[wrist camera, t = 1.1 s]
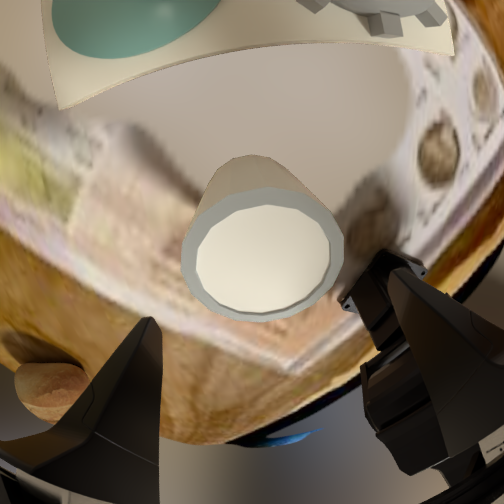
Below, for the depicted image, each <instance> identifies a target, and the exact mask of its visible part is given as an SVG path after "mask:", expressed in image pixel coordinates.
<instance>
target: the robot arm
mask: <svg viewBox="0 0 504 504" xmlns="http://www.w3.org/2000/svg"><path fill="white" fill-rule="evenodd" d="M383 255H384V256H383ZM382 256H383V257H382ZM426 274H427V269H426V268H425V267H424V266H422V265H420V264H418V263H416V262H414V261H412V260H409V259H407V258H405V257H403V256H401V255H398V254H396V253H394V252H392V251H389V250H387V249H382V250H380V251H379V252H378V254H377V255H376V257H375V258H374V259H373V261H372V262H371V264H370V265H369V266H368V268H367V269H366V271H365V272H364V273H363V275H362V276H361V277H360V279H359V280H358V281H357V283H356V284H355V285H354V287H353V288H352V289H351V291H350V292H349V293H348V295H347V296H346V297H345V298H344V300H343V301H342V302H341V307H342V309H343V310H345V311H349V312H354V313H358V314H359V315H360V317H361V319H362V321H363V324H364V326H365V328H366V330H367V331H369V333H370V336H371V338H372V340H373V342H374V345H375V347H376V349H377V351H381V352H380V353H379V354H377V355H376V356H375V357H373V358H372V359H371V360H369V361H368V362H365V363H364V364H362V365H361V366H360V372H361V381H362V392H363V403H364V412H365V417H366V418H367V420H368V422H369V424H370V425H371V427H372V428H373V429H374V430H375V431H376V432H377V433H376V437H377V438H378V439H379V440H380V441H382V442H383V443H384V444H385V446H386V447H387V448H388V449H389V451H390V452H391V454H392V456H393V457H394V459H395V461H396V463H397V465H398V467H399V469H400V470H401V471H403V472H404V473H406V474H407V475H409V476H413V475H415V474H417V473H419V472H422V471H424V470H426V469H428V468H431V469H435V470H438V471H439V472H440V473H441V474H442V476H443V478H444V479H445V481H446V483H447V484H448V486H449V489H447V490H445V491H443V492H442V493H440V494H438V495H436V496H434V497H432V498H430V499H428V500H426V501H424V502H422V503H420V504H504V330H503V329H501V328H500V327H498V326H496V325H494V324H492V323H491V322H489V321H487V320H486V319H484V318H482V317H481V316H479V315H478V314H476V313H474V312H473V311H471V310H469V309H468V308H467V307H465V306H463V305H462V304H460V303H459V302H457V301H455V300H454V299H452V298H451V296H450V295H449V294H448V293H447V292H446V293H445V294H444V293H442V292H441V291H439V290H437V289H436V288H434V287H432V286H431V285H429V284H427V283H426V282H424V281H422V279H423V278H424V277H425V275H426ZM162 376H163V352H162V331H161V329H160V328H159V326H158V324H157V323H156V321H155V319H154V318H153V317H151V316H150V317H143V318H141V319H140V321H139V322H138V323H137V324H136V325H135V327H134V328H133V329H132V330H131V332H130V333H129V334H128V335H127V337H126V338H125V339H124V340H123V341H122V343H121V344H120V345H119V346H118V348H117V349H116V350H115V352H114V353H113V354H112V355H111V357H110V358H109V359H108V360H107V362H106V363H105V364H104V366H103V367H102V368H101V369H100V371H99V372H98V373H97V375H96V376H95V377H94V378H93V380H92V382H90V384H89V385H88V386H87V388H86V389H85V390H84V391H83V393H82V394H81V395H80V397H79V398H78V399H77V400H76V401H75V402H74V404H73V405H72V406H71V407H70V408H69V409H68V410H67V412H66V413H65V414H64V415H63V416H62V417H61V418H60V420H59V421H58V422H57V423H56V424H55V425H54V426H53V427H52V428H51V429H49V430H47V431H45V432H42V433H39V434H35V435H32V436H28V437H23V438H19V439H15V440H11V441H0V458H1V459H3V460H4V461H6V462H8V463H9V464H11V465H13V466H14V467H16V468H17V472H16V474H14V473H12V472H10V471H8V470H6V469H5V468H3V467H1V466H0V504H160V500H159V466H158V465H159V426H160V405H161V389H162Z"/></svg>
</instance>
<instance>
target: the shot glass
mask: <svg viewBox="0 0 504 504" xmlns="http://www.w3.org/2000/svg"><path fill="white" fill-rule="evenodd" d="M343 263H344V236H343V234H342V232H341V230H340V228H339V226H338V224H337V223H336V221H335V219H334V217H333V215H332V213H331V211H330V210H329V209H328V208H327V207H326V206H325V205H324V204H323V203H321V202H320V200H319V199H318V198H316V196H315V195H313V194H312V193H311V192H310V191H309V190H308V189H307V188H306V187H305V186H304V185H303V184H302V183H301V182H300V181H299V180H298V179H297V178H296V177H295V176H294V175H292V174H291V173H290V172H289V171H288V170H287V169H286V168H285V167H283V166H282V165H280V164H279V163H277V162H276V161H274V160H272V159H271V158H268V157H262V156H257V155H248V156H243V157H238V158H233V159H232V160H230V161H229V162H227V163H226V164H224V165H223V166H221V167H220V168H219V169H217V171H216V173H215V174H214V176H213V177H212V179H211V180H210V182H209V184H208V186H207V188H206V190H205V192H204V194H203V196H202V199H201V201H200V203H199V205H198V208H197V210H196V212H195V214H194V217H193V219H192V221H191V223H190V226H189V228H188V230H187V233H186V235H185V238H184V240H183V242H182V254H181V272H182V275H183V277H184V279H185V281H186V284H187V286H188V288H189V290H190V292H191V294H192V295H193V296H194V297H195V298H196V299H198V300H199V301H200V302H201V303H202V304H203V305H204V306H206V307H207V308H208V309H209V310H210V311H212V312H215V313H217V314H220V315H223V316H225V317H228V318H230V319H233V320H236V321H249V322H267V321H272V320H277V319H282V318H287V317H291V316H293V315H294V314H296V313H298V312H300V311H302V310H304V309H306V308H308V307H310V306H312V305H314V304H315V303H316V302H317V301H318V300H319V299H320V298H321V297H322V296H323V295H324V294H325V293H326V292H327V291H328V290H329V289H330V288H331V287H332V286H333V285H334V282H335V280H336V278H337V276H338V274H339V272H340V269H341V267H342V265H343Z"/></svg>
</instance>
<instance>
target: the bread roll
mask: <svg viewBox="0 0 504 504" xmlns="http://www.w3.org/2000/svg"><path fill="white" fill-rule="evenodd" d="M89 384H90V382H89V379H88V376H87V374H86V373H85V372H84V371H83V370H82V369H81V368H79V367H77V366H75V365H72V364H66V363H25V364H23V365H21V366H20V367H19V368H18V369H17V371H16V374H15V388H16V392H17V394H18V397H19V400H20V401H22V403H23V404H24V405H25V406H26V408H27V409H28V410H30V411H31V412H32V413H34V414H35V415H36V416H37V417H39V418H40V419H42V420H44V421H46V422H49V423H51V424H54V425H55V424H56V423H57V422H58V421H59V420H60V418H61V417H62V416H63V415H64V414H65V413H66V412H67V410H68V409H69V408H70V407H71V406H72V405H73V404H74V402H75V401H76V400H77V399H78V398H79V397H80V395H81V394H82V393H83V391H84V390H85V389H86V388H87V386H88V385H89Z"/></svg>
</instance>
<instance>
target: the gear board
mask: <svg viewBox="0 0 504 504" xmlns="http://www.w3.org/2000/svg"><path fill="white" fill-rule="evenodd" d="M41 8H42V20H43V30H44V38H45V45H46V52H47V58H48V64H49V69H50V74H51V78H52V83H53V88H54V92H55V96H56V100H57V104H58V108H59V111H60V110H64V109H67V108H71V107H73V106H75V105H77V104H79V103H81V102H83V101H85V100H87V99H89V98H91V97H93V96H95V95H97V94H100V93H102V92H104V91H106V90H108V89H111V88H113V87H115V86H118V85H120V84H123V83H125V82H128V81H130V80H133V79H135V78H138V77H141V76H144V75H146V74H149V73H152V72H155V71H158V70H162V69H165V68H168V67H171V66H174V65H178V64H181V63H185V62H188V61H193V60H197V59H200V58H205V57H209V56H214V55H219V54H224V53H229V52H234V51H240V50H246V49H253V48H260V47H268V46H278V45H288V44H303V43H356V44H371V45H382V46H392V47H399V48H406V49H413V50H419V51H424V52H429V53H434V54H439V55H450V56H455V55H454V48H453V41H452V35H451V30H450V24H449V20H448V15H447V11H446V6H445V3H444V0H41Z"/></svg>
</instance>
